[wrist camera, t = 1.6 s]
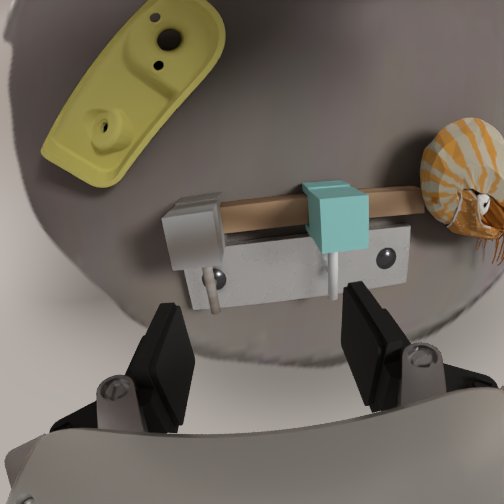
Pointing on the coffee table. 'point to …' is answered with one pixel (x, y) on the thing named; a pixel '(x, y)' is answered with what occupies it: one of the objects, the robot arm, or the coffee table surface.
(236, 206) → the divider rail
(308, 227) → the block
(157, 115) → the plastic component
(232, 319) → the coffee table surface
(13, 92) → the coffee table surface
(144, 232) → the coffee table surface
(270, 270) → the bolt plate
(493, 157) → the nautilus
